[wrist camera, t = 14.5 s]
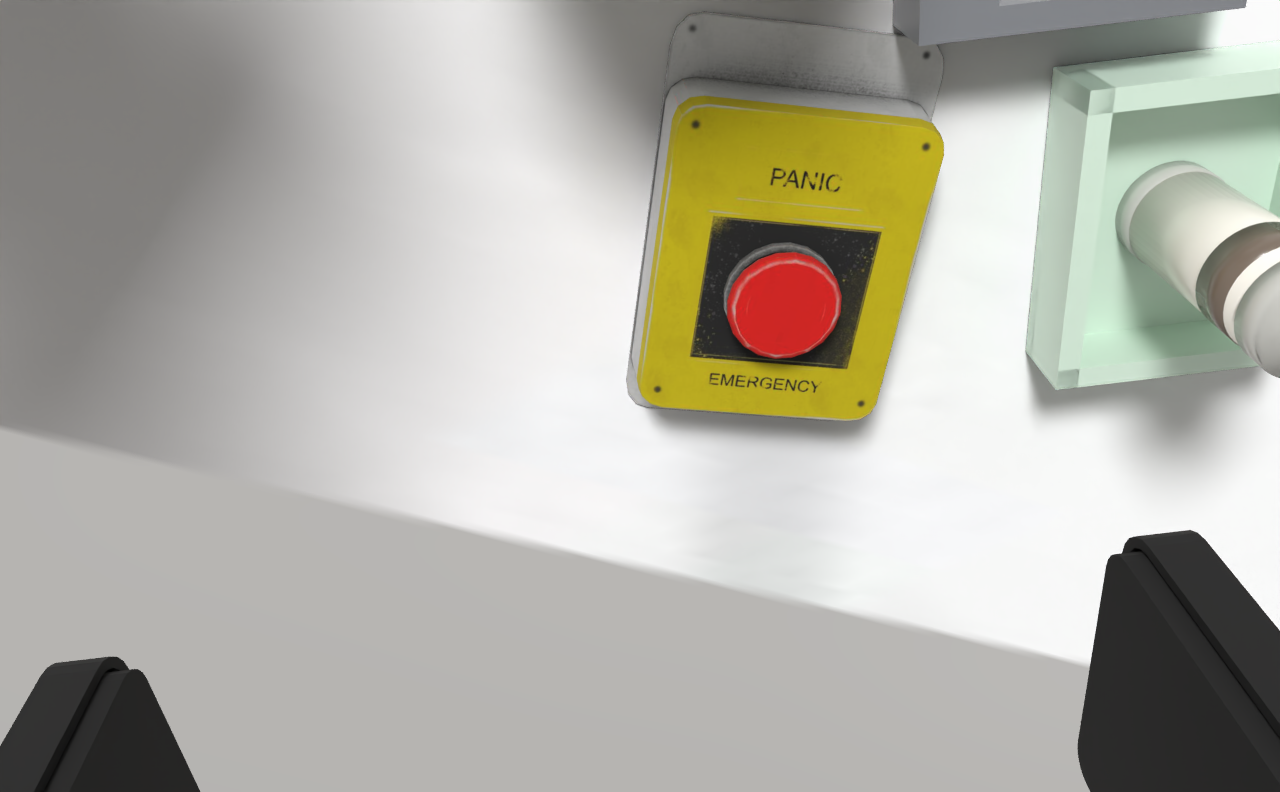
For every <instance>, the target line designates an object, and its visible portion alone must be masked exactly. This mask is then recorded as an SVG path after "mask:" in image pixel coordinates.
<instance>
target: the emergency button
mask: <svg viewBox="0 0 1280 792" xmlns="http://www.w3.org/2000/svg"><path fill="white" fill-rule="evenodd" d="M943 63H944V58H943V56H942V54H941V52H940V50H939V48H938V46H937V44H934V45H926V46H918V45H917V44H915V43H914V42H913V41H912V40H910V39H909V38H908V37H907V36H905V35H900V34H891V33H883V32H874V31H865V30H857V29H848V28H840V27H831V26H822V25H814V24H805V23H796V22H788V21H779V20H770V19H762V18H753V17H744V16H736V15H727V14H719V13H710V12H701V13H696V14H691V15H688V16H687V17H686V18H685V19H684V20H683V21H682V22H681V23H680V24H679V25H678V26H677V27H676V30H675V32H674V35H673V38H672V41H671V43H670V51H669V58H668V66H667V73H666V81H665V89H664V96H663V104H662V111H661V119H660V127H659V134H658V142H657V149H656V157H655V165H654V172H653V180H652V187H651V195H650V203H649V210H648V218H647V225H646V233H645V241H644V248H643V256H642V263H641V271H640V279H639V286H638V294H637V301H636V309H635V317H634V324H633V332H632V340H631V347H630V355H629V362H628V370H627V378H626V382H627V389H628V394H629V396H630V397H631V398H632V399H633V401H634V402H635V403H636V404H639V405H642V406H645V407H648V408H662V409H675V410H689V411H702V412H716V413H730V414H743V415H757V416H770V417H784V418H797V419H811V420H824V421H831V420H841V421H851V420H859V419H861V418H863V417H865V416H867V415H868V414H870V413H871V411H872V410H873V408H874V407H875V405H876V403H877V399H878V395H879V392H880V388H881V384H882V381H883V377H884V373H885V370H886V366H887V362H888V359H889V355H890V351H891V348H892V344H893V340H894V337H895V333H896V329H897V326H898V322H899V318H900V314H901V311H902V307H903V303H904V300H905V296H906V292H907V289H908V285H909V281H910V278H911V274H912V270H913V267H914V263H915V259H916V256H917V252H918V248H919V245H920V241H921V237H922V234H923V230H924V226H925V223H926V219H927V215H928V212H929V208H930V204H931V200H932V197H933V193H934V189H935V186H936V182H937V178H938V175H939V171H940V167H941V164H942V160H943V156H944V142H943V140H942V137H941V135H940V133H939V132H938V130H937V129H936V127H935V126H934V125H933V123H932V122H931V119H932V115H933V112H934V108H935V104H936V100H937V96H938V92H939V89H940V85H941V81H942V77H943Z"/></svg>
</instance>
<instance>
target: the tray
mask: <svg viewBox="0 0 1280 792" xmlns="http://www.w3.org/2000/svg"><path fill="white" fill-rule="evenodd" d="M1172 161H1190V162H1194V163H1197V164H1199V165H1201V166H1203V167H1204V168H1206V169H1208V170H1209V171H1211V172H1212V173H1214V174H1215V175H1217V176H1219V177H1220V178H1221V179H1222V180H1223V181H1225V183H1226V184H1228V185H1230V186H1231V187H1233V188H1234V189H1236V190H1237V191H1239V192H1240V193H1242V194H1244V195H1245V196H1247V197H1248V198H1250V199H1251V200H1253V201H1254V202H1256V203H1258V204H1259V205H1261V206H1262V207H1264V208H1265V209H1267V210H1268V211H1270V212H1272V213H1273V214H1275V215H1276V216H1278V217H1279V218H1280V40H1279V41H1271V42H1262V43H1254V44H1245V45H1237V46H1229V47H1220V48H1212V49H1203V50H1195V51H1186V52H1178V53H1169V54H1161V55H1152V56H1144V57H1135V58H1127V59H1118V60H1110V61H1101V62H1093V63H1085V64H1076V65H1068V66H1059V67H1053V76H1052V86H1051V96H1050V106H1049V117H1048V127H1047V137H1046V148H1045V158H1044V168H1043V178H1042V189H1041V199H1040V209H1039V219H1038V230H1037V240H1036V250H1035V260H1034V271H1033V281H1032V291H1031V301H1030V312H1029V322H1028V332H1027V342H1026V352H1027V354H1028V355H1029V356H1030V357H1031V359H1032V360H1033V361H1034V363H1035V364H1036V365H1037V366H1038V368H1039V369H1040V370H1041V372H1042V373H1043V374H1044V376H1045V377H1046V378H1047V379H1048V381H1049V382H1050V383H1051V385H1052V386H1053V387H1054V388H1055V390H1060V389H1069V388H1077V387H1086V386H1094V385H1103V384H1111V383H1120V382H1128V381H1137V380H1145V379H1154V378H1162V377H1171V376H1179V375H1188V374H1196V373H1205V372H1214V371H1222V370H1231V369H1239V368H1248V367H1256V366H1259V365H1258V364H1257V363H1256V362H1255V361H1253V360H1252V359H1251V358H1250V357H1249V356H1248V355H1247V354H1246V353H1244V351H1243V350H1242V349H1241V348H1240V346H1238V345H1237V344H1235V343H1234V342H1233V341H1232V340H1231V339H1229V338H1228V337H1227V336H1226V335H1225V334H1224V333H1223V332H1221V331H1220V330H1219V329H1218V328H1217V327H1216V326H1215V325H1213V324H1212V323H1211V322H1210V321H1209V320H1208V319H1207V318H1206V317H1205V316H1204V315H1203V314H1202V313H1201V312H1200V311H1199V310H1198V309H1197V308H1196V307H1194V306H1193V305H1192V304H1191V303H1190V302H1189V301H1188V300H1186V299H1185V298H1184V297H1183V296H1182V295H1181V294H1180V293H1178V292H1177V291H1176V290H1175V289H1174V288H1173V287H1172V286H1170V285H1169V284H1168V283H1167V282H1166V281H1165V280H1164V279H1162V278H1161V277H1160V276H1159V275H1158V274H1157V273H1155V272H1154V271H1153V270H1152V269H1151V268H1150V267H1149V266H1147V265H1146V264H1144V263H1142V262H1141V261H1140V260H1138V259H1137V258H1136V257H1135V256H1134V255H1133V254H1131V253H1130V252H1129V251H1128V250H1127V249H1126V248H1125V247H1124V246H1123V245H1122V244H1121V242H1120V240H1119V238H1118V236H1117V233H1116V228H1115V217H1116V212H1117V208H1118V205H1119V203H1120V201H1121V199H1122V197H1123V195H1124V194H1125V192H1126V191H1127V189H1128V188H1129V187H1130V185H1131V184H1132V183H1133V182H1134V181H1135V180H1136V179H1137V178H1139V177H1140V176H1141V175H1142V174H1144V173H1145V172H1147V171H1148V170H1150V169H1152V168H1154V167H1156V166H1158V165H1161V164H1164V163H1167V162H1172Z"/></svg>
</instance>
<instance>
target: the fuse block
mask: <svg viewBox="0 0 1280 792" xmlns="http://www.w3.org/2000/svg"><path fill="white" fill-rule="evenodd" d="M1246 2H1247V0H893V26H894V27H896V28H897V29H898V30H899V31H901V32H902V33H903V34H904V35H905V36H907V37H908V38H909V39H910V40H912V41H913V42H914V43H915V44H917V45H918V46H926V45H934V44H943V43H951V42H959V41H968V40H976V39H985V38H993V37H1002V36H1010V35H1019V34H1027V33H1036V32H1044V31H1053V30H1061V29H1069V28H1078V27H1086V26H1095V25H1103V24H1112V23H1120V22H1129V21H1137V20H1146V19H1154V18H1163V17H1171V16H1180V15H1188V14H1196V13H1205V12H1213V11H1222V10H1230V9H1239V8H1245V7H1246Z"/></svg>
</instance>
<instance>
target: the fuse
mask: <svg viewBox="0 0 1280 792" xmlns="http://www.w3.org/2000/svg"><path fill="white" fill-rule="evenodd" d="M1115 228H1116V233H1117V236H1118V238H1119V240H1120V242H1121V244H1122V245H1123V246H1124V247H1125V248H1126V249H1127V250H1128V251H1129V252H1130V253H1131V254H1133V255H1134V256H1135V257H1136V258H1137V259H1138V260H1140V261H1141V262H1142V263H1144V264H1146V265H1147V266H1149V267H1150V268H1151V269H1152V270H1153V271H1154V272H1155V273H1157V274H1158V275H1159V276H1160V277H1161V278H1162V279H1164V280H1165V281H1166V282H1167V283H1168V284H1169V285H1170V286H1172V287H1173V288H1174V289H1175V290H1176V291H1177V292H1178V293H1180V294H1181V295H1182V296H1183V297H1184V298H1185V299H1186V300H1188V301H1189V302H1190V303H1191V304H1192V305H1193V306H1194V307H1196V308H1197V309H1198V310H1199V311H1200V312H1201V313H1202V314H1203V315H1204V316H1205V317H1206V318H1207V319H1208V320H1209V321H1210V322H1211V323H1212V324H1213V325H1215V326H1216V327H1217V328H1218V329H1219V330H1220V331H1221V332H1223V333H1224V334H1225V335H1226V336H1227V337H1228V338H1229V339H1231V340H1232V341H1233V342H1234V343H1235V344H1237V345H1238V346H1240V348H1241V349H1242V350H1243V351H1244V353H1246V354H1247V355H1248V356H1249V357H1250V358H1251V359H1252V360H1253V361H1255V362H1256V363H1257V364H1258V365H1259V366H1260V367H1261V368H1263V369H1264V370H1265V371H1266V372H1268V373H1269V374H1271V375H1273V376H1275V377H1278V378H1280V218H1279V217H1278V216H1276V215H1275V214H1273V213H1272V212H1270V211H1268V210H1267V209H1265V208H1264V207H1262V206H1261V205H1259V204H1258V203H1256V202H1254V201H1253V200H1251V199H1250V198H1248V197H1247V196H1245V195H1244V194H1242V193H1240V192H1239V191H1237V190H1236V189H1234V188H1233V187H1231V186H1230V185H1228V184H1226V183H1225V181H1223V180H1222V179H1221V178H1220V177H1219V176H1217V175H1215V174H1214V173H1212V172H1211V171H1209V170H1208V169H1206V168H1204V167H1203V166H1201V165H1199V164H1197V163H1194V162H1190V161H1172V162H1167V163H1164V164H1161V165H1158V166H1156V167H1154V168H1152V169H1150V170H1148V171H1147V172H1145V173H1144V174H1142V175H1141V176H1140V177H1139V178H1137V179H1136V180H1135V181H1134V182H1133V183H1132V184H1131V185H1130V187H1129V188H1128V189H1127V191H1126V192H1125V194H1124V195H1123V197H1122V199H1121V201H1120V203H1119V205H1118V208H1117V212H1116V217H1115Z"/></svg>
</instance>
